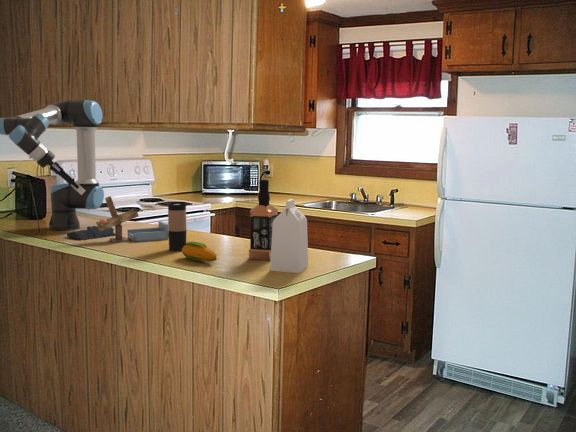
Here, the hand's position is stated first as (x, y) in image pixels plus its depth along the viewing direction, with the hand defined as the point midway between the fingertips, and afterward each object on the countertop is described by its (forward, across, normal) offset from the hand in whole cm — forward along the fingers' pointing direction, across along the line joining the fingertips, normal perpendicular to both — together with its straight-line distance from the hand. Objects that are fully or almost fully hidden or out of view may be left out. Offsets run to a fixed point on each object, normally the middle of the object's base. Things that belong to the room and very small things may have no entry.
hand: (83, 192), depth 277 cm
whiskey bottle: (+58, +64, +26) cm, 90 cm away
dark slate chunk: (+20, -15, -12) cm, 28 cm away
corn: (+41, +59, +8) cm, 72 cm away
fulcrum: (+26, +3, -6) cm, 27 cm away
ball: (+15, +3, -4) cm, 16 cm away
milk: (+59, +85, +26) cm, 107 cm away
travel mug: (+39, +34, +7) cm, 52 cm away
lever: (+20, +3, +1) cm, 20 cm away
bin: (+36, +3, +4) cm, 36 cm away
